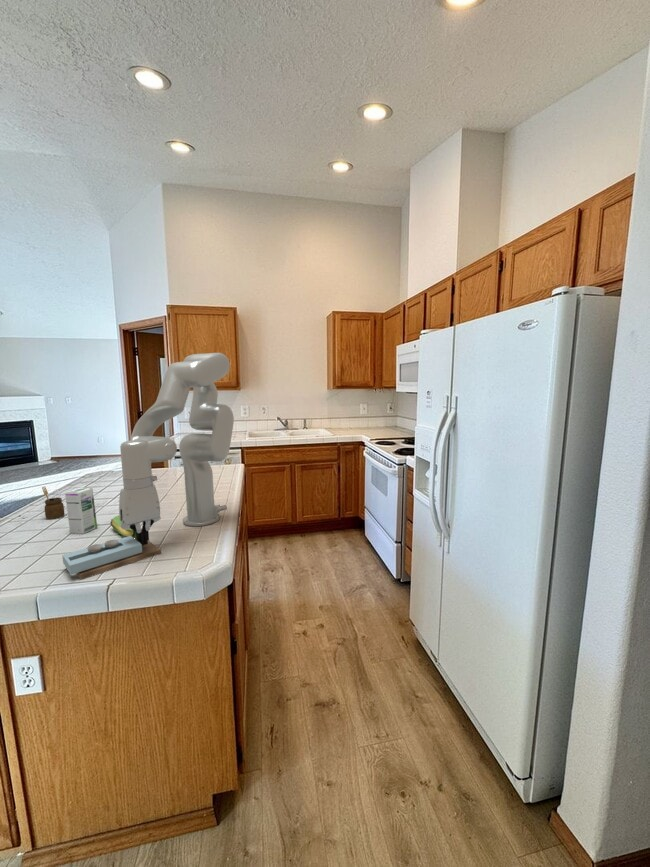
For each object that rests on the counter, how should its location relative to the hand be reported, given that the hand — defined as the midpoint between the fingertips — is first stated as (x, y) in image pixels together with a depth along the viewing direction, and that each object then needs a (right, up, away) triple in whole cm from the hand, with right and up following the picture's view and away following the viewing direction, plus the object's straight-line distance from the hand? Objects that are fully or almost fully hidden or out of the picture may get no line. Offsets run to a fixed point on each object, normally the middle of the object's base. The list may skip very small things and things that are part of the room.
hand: (143, 543), depth 108 cm
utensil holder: (-50, 0, +32) cm, 59 cm away
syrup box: (-29, -1, +18) cm, 34 cm away
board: (-5, -3, -5) cm, 7 cm away
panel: (-7, -2, -7) cm, 10 cm away
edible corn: (-13, -1, +14) cm, 19 cm away
